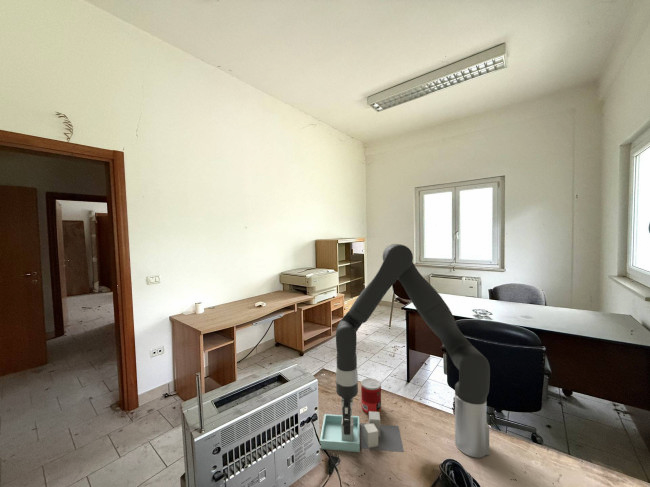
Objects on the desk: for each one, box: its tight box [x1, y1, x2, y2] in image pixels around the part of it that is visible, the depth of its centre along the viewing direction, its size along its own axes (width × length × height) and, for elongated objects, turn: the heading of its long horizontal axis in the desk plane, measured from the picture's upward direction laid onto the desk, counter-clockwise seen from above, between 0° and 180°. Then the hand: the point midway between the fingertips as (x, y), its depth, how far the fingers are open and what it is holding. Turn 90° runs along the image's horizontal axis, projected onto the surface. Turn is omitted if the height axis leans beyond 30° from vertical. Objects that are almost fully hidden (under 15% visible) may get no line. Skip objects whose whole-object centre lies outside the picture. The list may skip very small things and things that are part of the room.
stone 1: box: [341, 416, 354, 442], centre depth 92 cm, size 4×4×6 cm
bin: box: [319, 413, 361, 453], centre depth 93 cm, size 13×13×3 cm
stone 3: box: [364, 423, 378, 448], centre depth 90 cm, size 4×4×5 cm
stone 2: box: [368, 411, 381, 437], centre depth 95 cm, size 4×4×6 cm
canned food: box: [360, 377, 382, 415], centre depth 107 cm, size 8×8×11 cm
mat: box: [359, 422, 405, 453], centre depth 92 cm, size 14×12×1 cm
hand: (347, 424), depth 92 cm, fingers open, 8 cm apart
